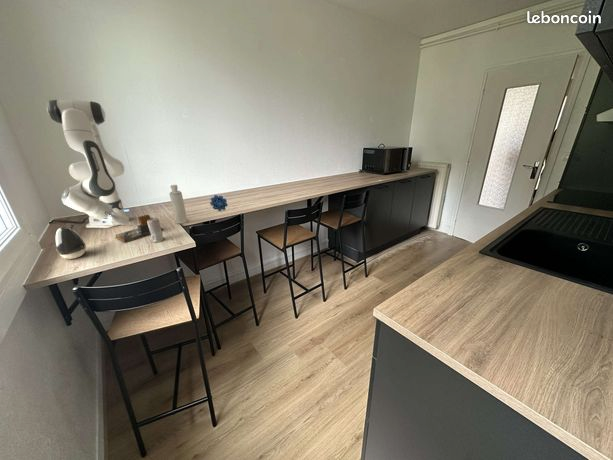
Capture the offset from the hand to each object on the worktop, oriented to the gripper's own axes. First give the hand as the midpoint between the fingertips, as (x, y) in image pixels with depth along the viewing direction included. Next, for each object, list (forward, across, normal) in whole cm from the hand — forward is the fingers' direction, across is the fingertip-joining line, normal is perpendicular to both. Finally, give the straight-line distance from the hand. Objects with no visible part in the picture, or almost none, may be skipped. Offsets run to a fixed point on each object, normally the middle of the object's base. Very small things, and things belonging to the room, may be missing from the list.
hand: (129, 223), depth 138 cm
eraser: (+10, 0, -1) cm, 10 cm away
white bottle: (+25, -2, -14) cm, 29 cm away
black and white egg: (-13, -3, +24) cm, 28 cm away
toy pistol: (+8, 0, +3) cm, 8 cm away
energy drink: (+9, -18, +2) cm, 20 cm away
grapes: (+44, -5, -32) cm, 54 cm away
